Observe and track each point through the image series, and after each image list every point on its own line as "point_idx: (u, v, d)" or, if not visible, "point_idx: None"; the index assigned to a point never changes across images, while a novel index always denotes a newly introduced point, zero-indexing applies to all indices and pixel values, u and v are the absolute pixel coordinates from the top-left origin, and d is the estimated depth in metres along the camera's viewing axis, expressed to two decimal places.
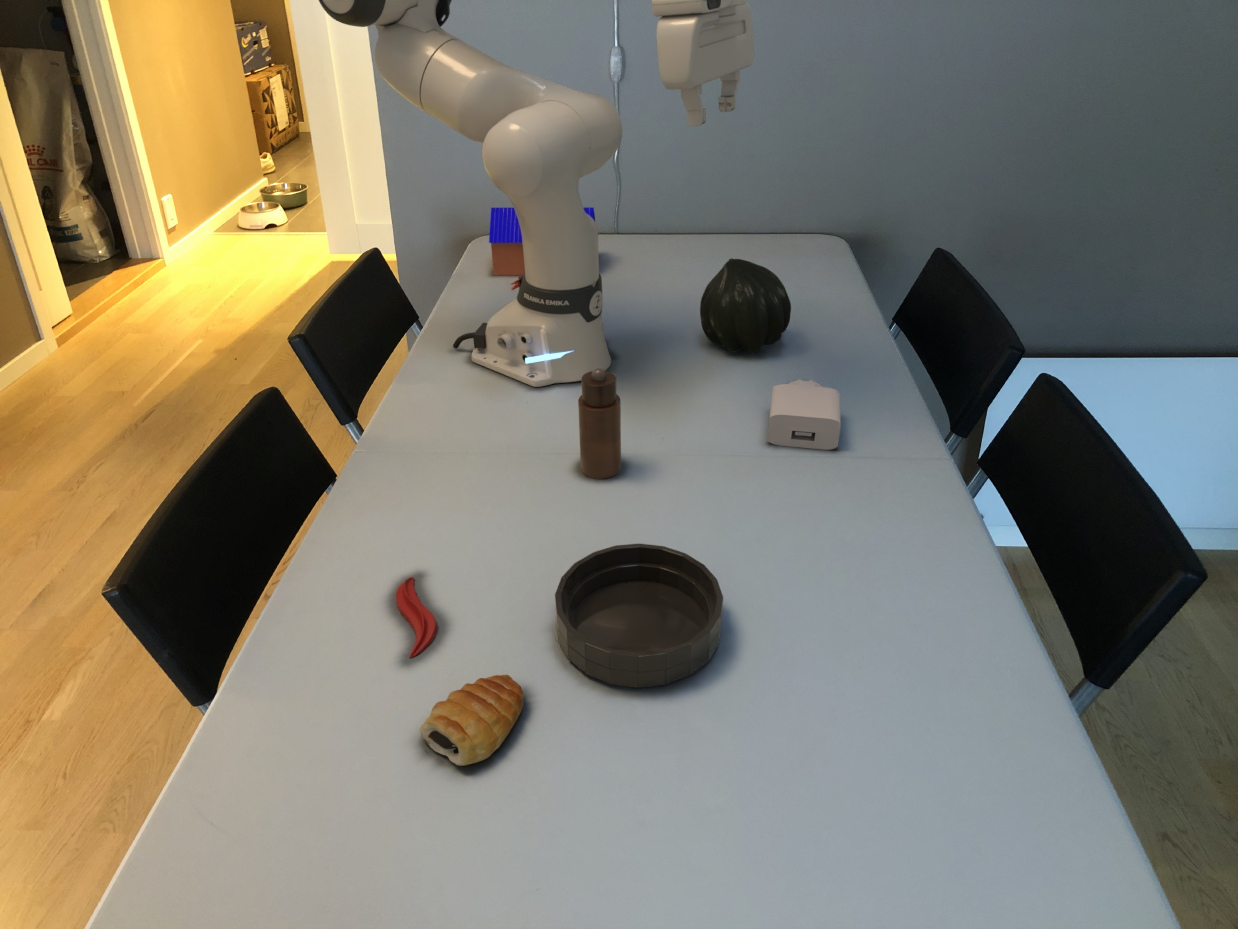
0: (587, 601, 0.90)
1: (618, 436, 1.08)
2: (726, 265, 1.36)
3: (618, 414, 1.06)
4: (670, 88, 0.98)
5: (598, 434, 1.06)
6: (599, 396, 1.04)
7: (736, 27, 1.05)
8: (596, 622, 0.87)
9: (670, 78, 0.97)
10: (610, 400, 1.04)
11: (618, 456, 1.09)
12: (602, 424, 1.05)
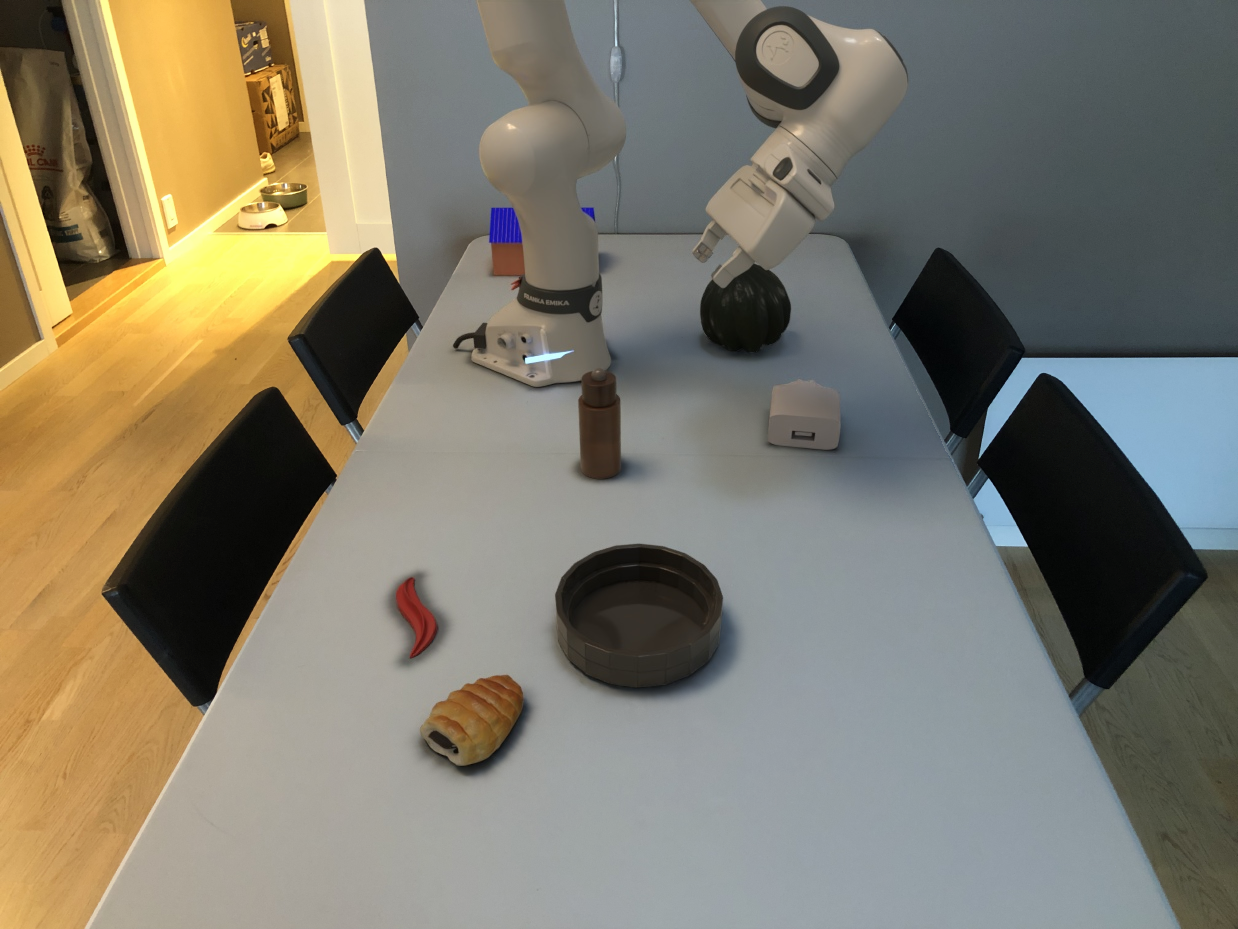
0: (587, 601, 0.90)
1: (618, 436, 1.08)
2: None
3: (618, 414, 1.06)
4: (752, 256, 0.91)
5: (598, 434, 1.06)
6: (599, 396, 1.04)
7: None
8: (596, 622, 0.87)
9: (763, 251, 0.90)
10: (610, 400, 1.04)
11: (618, 456, 1.09)
12: (602, 424, 1.05)
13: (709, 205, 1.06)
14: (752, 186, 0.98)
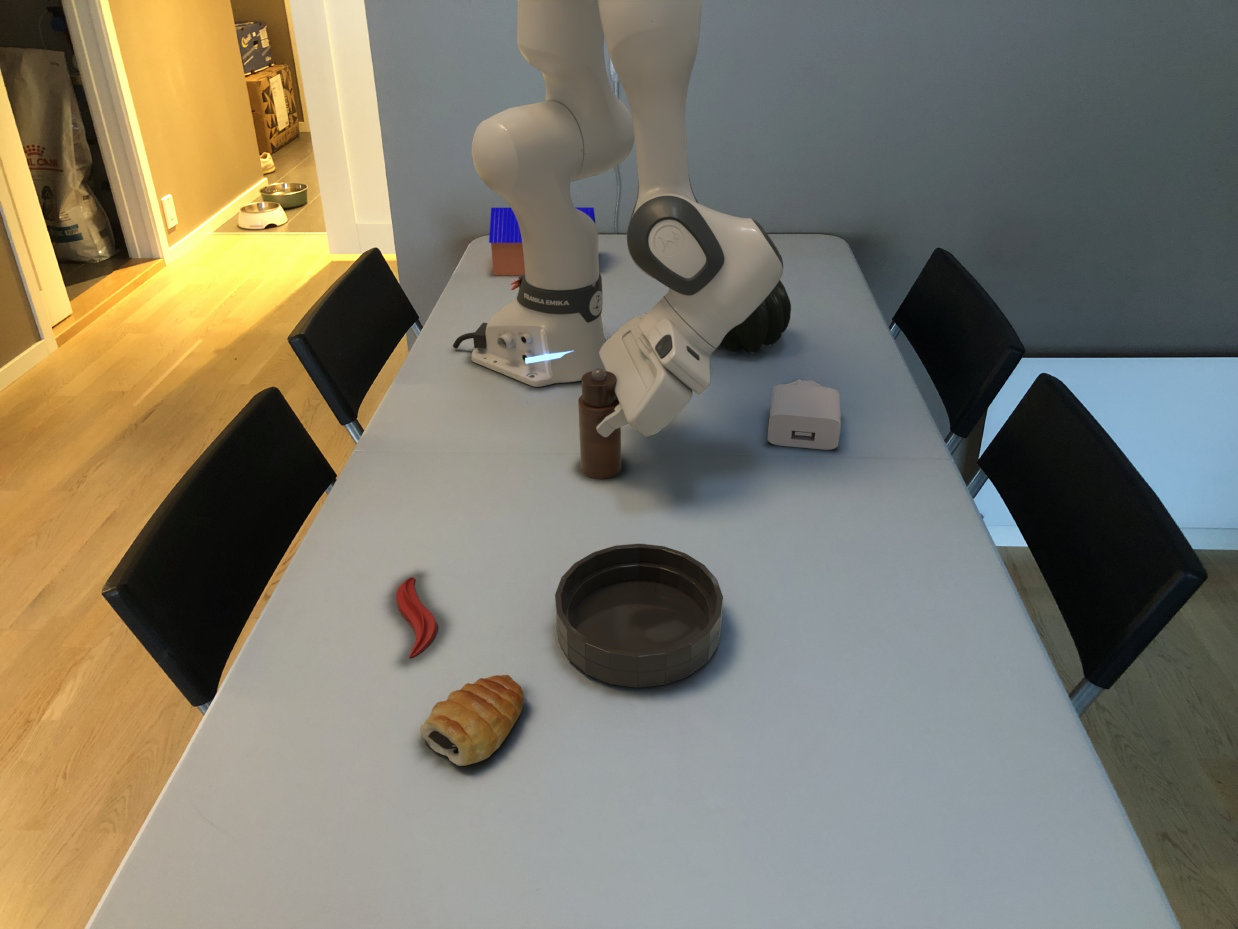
0: (587, 601, 0.90)
1: (618, 436, 1.08)
2: None
3: None
4: (632, 426, 0.98)
5: (598, 434, 1.06)
6: (599, 395, 1.04)
7: None
8: (596, 622, 0.87)
9: (642, 423, 0.97)
10: (610, 400, 1.05)
11: (618, 456, 1.09)
12: None
13: (602, 349, 1.12)
14: None
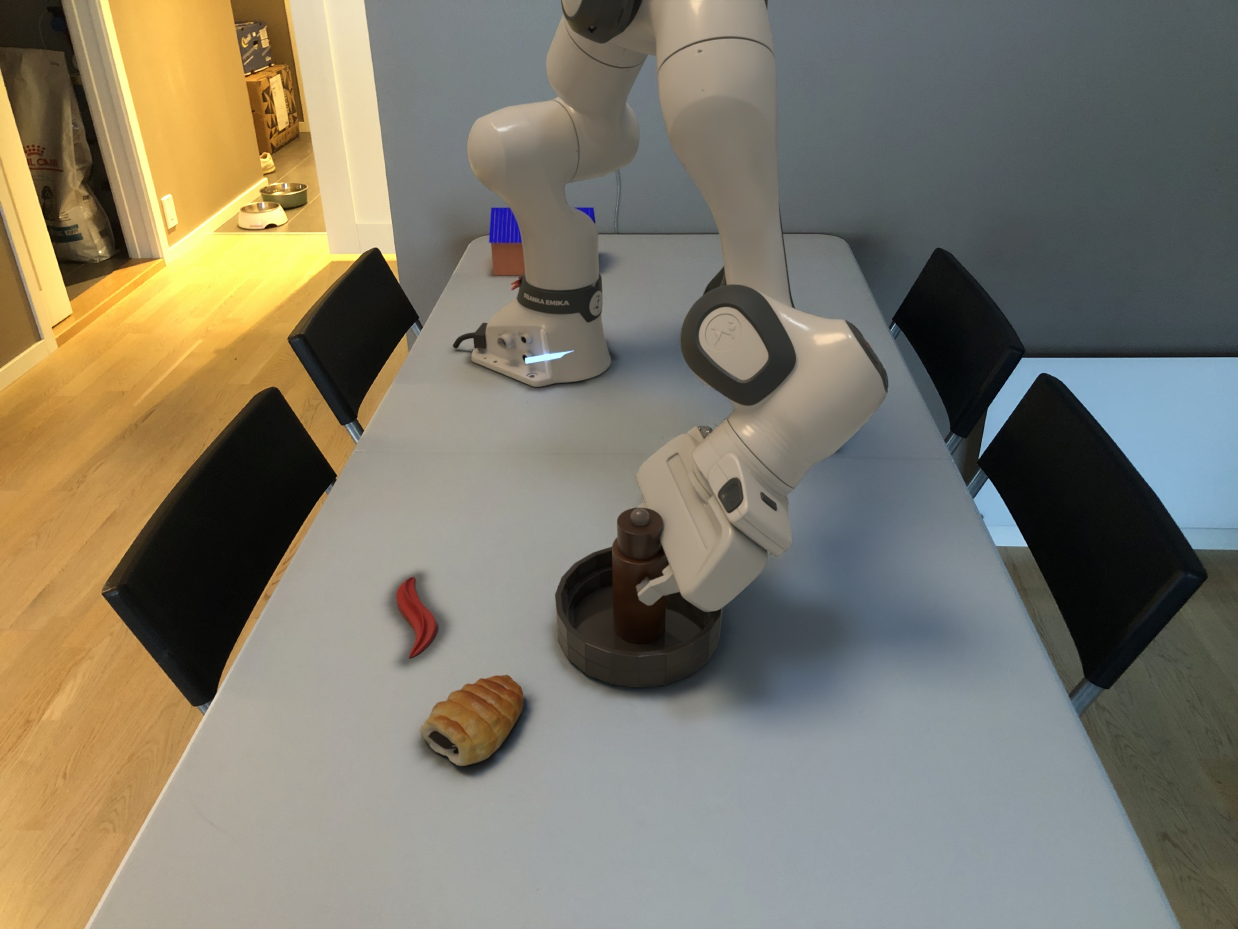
0: (587, 601, 0.90)
1: None
2: None
3: (664, 565, 0.81)
4: (688, 601, 0.73)
5: None
6: (640, 546, 0.78)
7: None
8: (596, 622, 0.87)
9: (702, 598, 0.72)
10: (655, 550, 0.79)
11: (663, 614, 0.84)
12: None
13: (640, 474, 0.87)
14: None
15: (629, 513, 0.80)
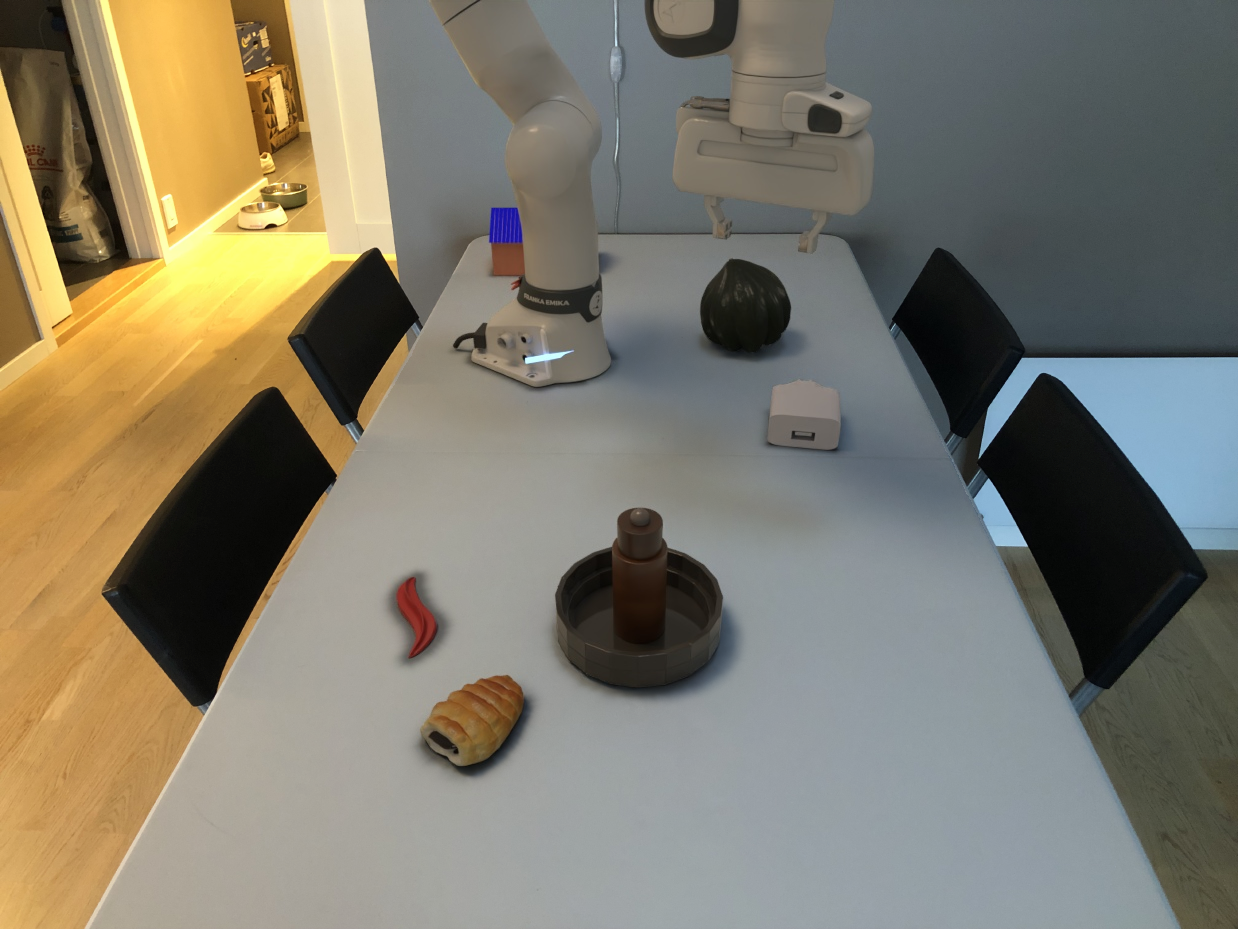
0: (587, 601, 0.90)
1: (663, 592, 0.82)
2: (726, 265, 1.36)
3: (664, 565, 0.81)
4: None
5: (638, 592, 0.81)
6: (640, 546, 0.78)
7: None
8: (596, 622, 0.87)
9: (866, 201, 0.83)
10: (655, 550, 0.79)
11: (663, 614, 0.84)
12: (644, 580, 0.80)
13: (683, 184, 0.89)
14: (750, 143, 0.84)
15: (629, 513, 0.80)
